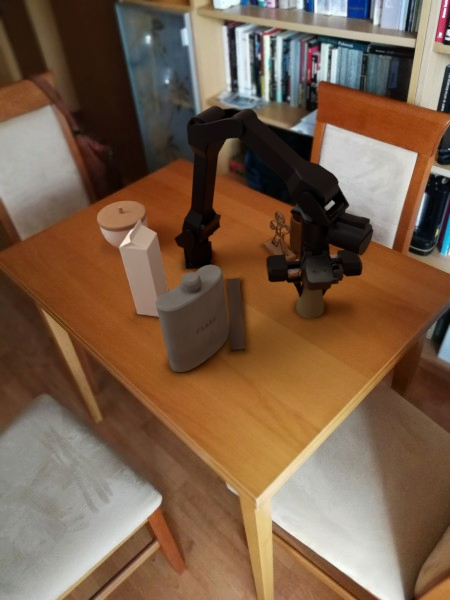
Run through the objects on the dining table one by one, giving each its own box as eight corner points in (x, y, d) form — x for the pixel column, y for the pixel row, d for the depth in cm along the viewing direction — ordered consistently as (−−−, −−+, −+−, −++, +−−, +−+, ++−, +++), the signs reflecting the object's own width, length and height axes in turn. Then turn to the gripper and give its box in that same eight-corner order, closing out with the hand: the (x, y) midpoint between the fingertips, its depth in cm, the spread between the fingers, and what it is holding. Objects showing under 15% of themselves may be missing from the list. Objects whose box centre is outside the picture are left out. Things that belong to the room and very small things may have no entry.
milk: (137, 314, 107) (114, 234, 92) (146, 296, 112) (126, 217, 97) (162, 317, 106) (143, 237, 91) (171, 299, 110) (154, 219, 95)
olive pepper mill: (326, 301, 106) (330, 263, 99) (321, 320, 102) (325, 281, 94) (299, 296, 108) (301, 258, 100) (293, 314, 104) (295, 276, 96)
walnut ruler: (230, 351, 97) (230, 349, 97) (227, 281, 113) (226, 278, 113) (245, 350, 97) (245, 348, 97) (239, 280, 113) (239, 277, 113)
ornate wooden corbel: (263, 245, 123) (262, 205, 114) (276, 240, 124) (276, 200, 116) (283, 263, 117) (284, 222, 109) (296, 258, 118) (298, 217, 110)
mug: (339, 255, 118) (343, 223, 111) (317, 268, 114) (320, 236, 108) (304, 234, 125) (305, 203, 118) (283, 246, 122) (283, 215, 115)
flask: (184, 379, 93) (168, 306, 79) (165, 364, 96) (146, 291, 83) (236, 336, 100) (230, 262, 87) (217, 323, 104) (208, 250, 90)
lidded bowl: (160, 243, 126) (153, 208, 119) (117, 262, 122) (106, 227, 114) (139, 223, 134) (130, 188, 127) (97, 240, 130) (86, 205, 122)
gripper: (270, 266, 86) (271, 325, 97) (374, 258, 85) (363, 319, 96) (265, 230, 94) (266, 289, 105) (359, 223, 94) (351, 282, 104)
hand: (311, 295), depth 102 cm, fingers closed on olive pepper mill, 4 cm apart
